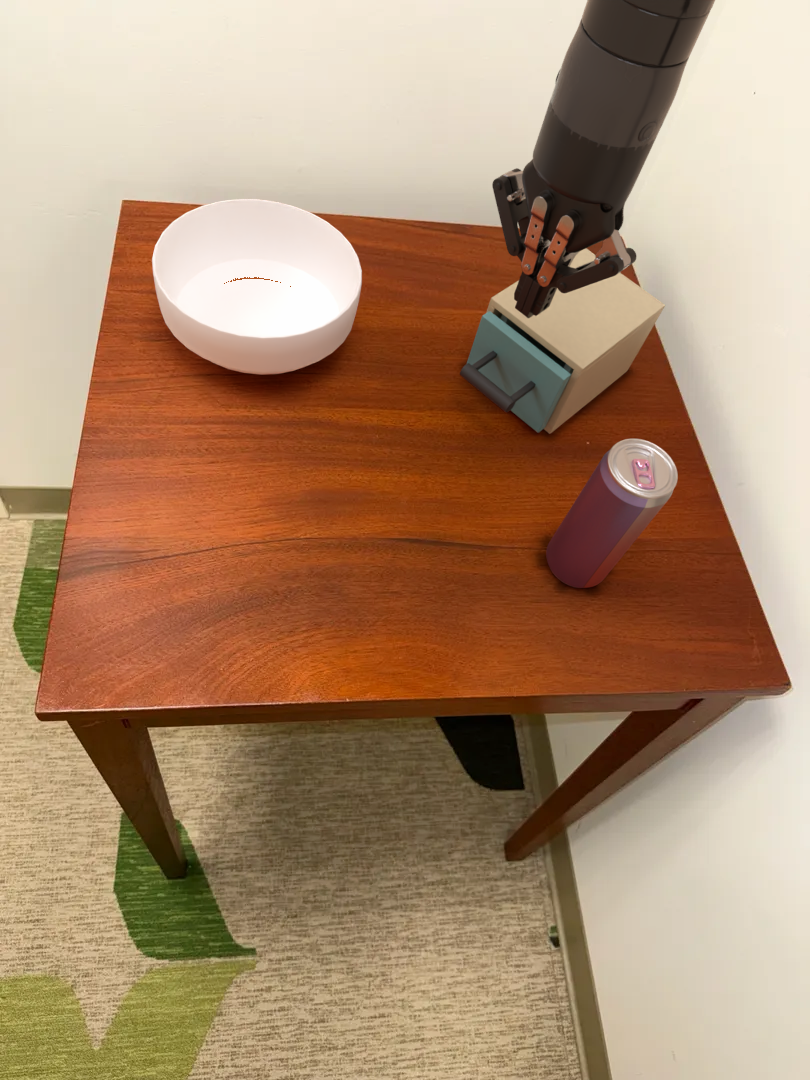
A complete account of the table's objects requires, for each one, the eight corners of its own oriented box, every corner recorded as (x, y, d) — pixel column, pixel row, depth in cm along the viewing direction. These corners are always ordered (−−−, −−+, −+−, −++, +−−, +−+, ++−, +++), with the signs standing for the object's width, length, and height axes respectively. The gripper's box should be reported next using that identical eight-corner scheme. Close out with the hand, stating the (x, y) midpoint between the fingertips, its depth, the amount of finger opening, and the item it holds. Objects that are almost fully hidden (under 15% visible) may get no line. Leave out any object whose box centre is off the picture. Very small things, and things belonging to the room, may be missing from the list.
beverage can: (548, 589, 69) (613, 496, 56) (540, 533, 72) (600, 433, 60) (610, 593, 70) (688, 501, 57) (599, 537, 73) (671, 439, 61)
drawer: (509, 456, 75) (533, 403, 69) (433, 392, 78) (449, 336, 72) (612, 373, 84) (642, 319, 77) (540, 318, 87) (564, 262, 80)
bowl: (185, 252, 84) (179, 182, 77) (362, 284, 86) (372, 219, 79) (139, 383, 74) (126, 316, 67) (341, 417, 76) (350, 355, 68)
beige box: (549, 434, 79) (583, 368, 71) (467, 367, 82) (490, 297, 74) (627, 371, 86) (665, 305, 78) (549, 311, 89) (578, 242, 81)
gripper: (716, 143, 51) (612, 336, 65) (564, 46, 54) (497, 250, 69) (656, 181, 47) (560, 376, 62) (497, 74, 51) (442, 282, 65)
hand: (527, 309), depth 65 cm, fingers closed
